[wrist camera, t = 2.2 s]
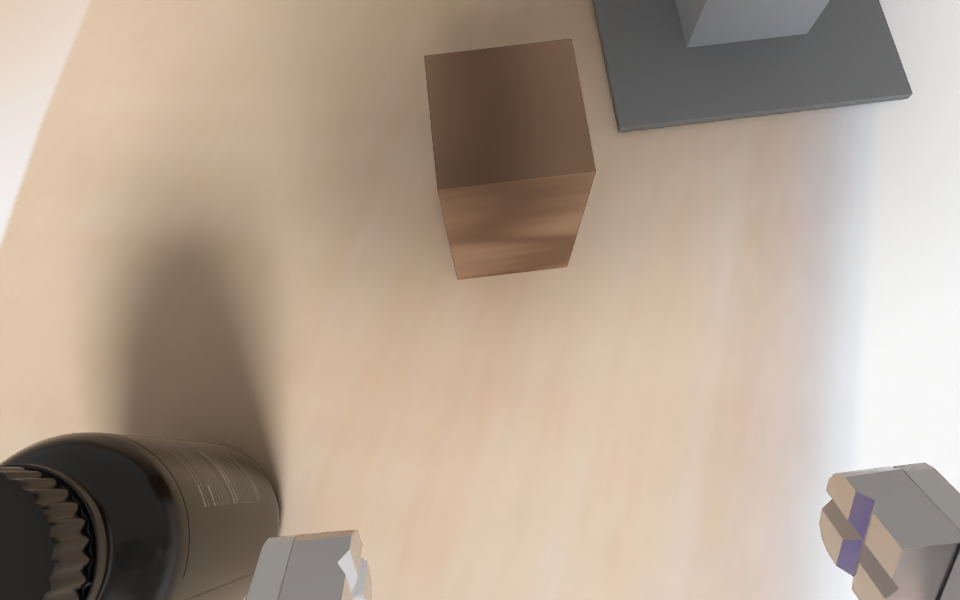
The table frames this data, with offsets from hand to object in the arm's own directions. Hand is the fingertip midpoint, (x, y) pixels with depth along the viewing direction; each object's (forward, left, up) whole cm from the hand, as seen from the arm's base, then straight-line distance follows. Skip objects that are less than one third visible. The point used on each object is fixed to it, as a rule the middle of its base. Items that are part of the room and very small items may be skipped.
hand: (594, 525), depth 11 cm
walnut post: (0, -12, -15) cm, 19 cm away
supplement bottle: (+14, 0, -15) cm, 21 cm away
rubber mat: (-13, -23, -15) cm, 31 cm away
